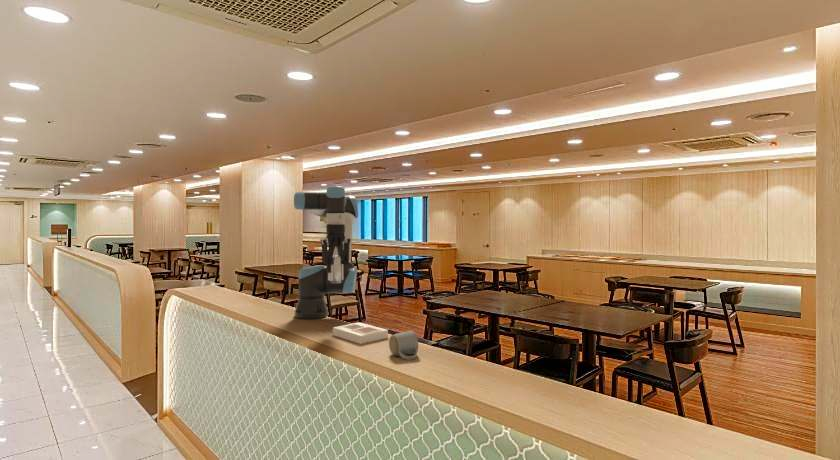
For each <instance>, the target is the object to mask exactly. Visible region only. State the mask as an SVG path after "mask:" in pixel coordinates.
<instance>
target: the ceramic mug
mask: <svg viewBox="0 0 840 460" xmlns="http://www.w3.org/2000/svg"><path fill="white" fill-rule="evenodd" d="M388 341H389V342H388V347H389V351H390V353H391V354H392V355H393V356H395V357H401V358H402V359H403V360H406V361H407V360H408V361H411V360H412V359H413V360H414V359H416V357H417V355H418V351H419V340H418V337H417V334H416V333H415V331H414V330H409V331H408V330H407V331H404V332H403V331H402V332H398V333H397V332H396V333H394V334H391V336H389V339H388Z"/></svg>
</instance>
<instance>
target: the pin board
mask: <svg viewBox="0 0 840 460" xmlns="http://www.w3.org/2000/svg"><path fill="white" fill-rule="evenodd" d="M353 324H354V325H353ZM361 326H362V327H361ZM332 336H333V337H338V338H341V339H343V340H348V341H349V342H350V341H351V342H353V343H356V344H359V345H362V344H367V342H368V343H372V342H376V341H379V340H385V339H388V338H389V329H387V328H386V329H385V328H382V327H378V326H374V325H372V324H367V323H364V322H353V323H349V324H343V325H339V326H334V327H333V326H332Z"/></svg>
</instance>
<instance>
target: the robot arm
mask: <svg viewBox="0 0 840 460" xmlns="http://www.w3.org/2000/svg"><path fill="white" fill-rule="evenodd" d="M293 207H294V209H295V210H301V211H305V210H306V211H308V212H309V213H310V214H311V215H314V216H317V217H320V218H326V219H325V220H326V221H325V222H326V223H327V224H326V226H325V228H326V236H325V238H322V239H320V244H321V264H320V265H311V266H305V267H303V268H301V269H299V271H298V279H297V280H298V301H297V304H296V307H295V310H294V317H295V318H297V319H301V320H302V319H303V320H305V319H306V320H314V319H322V318H325V317H328V315H329V310H328V307H327V304H326V300H325V294H349V293H350V294H351V293H353V292H354V291H355V289H356V285H357V283H356V282H357V277H358V276H357V275H358V269H357V268H356V267H355V266H354V263H352V241H353V240H352V239H353V224H354V223H355V221H356V219H357V218H358V219H359V211H358V210H359V209H358V201H357V197H356V196H354V195H346V189H345V187H344V186H339V185H336V186H335V185H334V186H332V185H331V186H327V188H326V191H325V192H324V191H323V192H321V191H320V192H315V191H314V192H313V191H311V192H310V191H309V192H307V191H300V192H299V191H298V192H295V193H294V196H293ZM333 256H341V283H330V281H333V265H331V264H332V258H333ZM323 264H324V265H326V266H324V265H323ZM324 316H325V317H324Z"/></svg>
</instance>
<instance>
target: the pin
mask: <svg viewBox="0 0 840 460" xmlns="http://www.w3.org/2000/svg"><path fill="white" fill-rule="evenodd" d="M331 265H333V281H330V283H341V256H333V258H332V264H331Z"/></svg>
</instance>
